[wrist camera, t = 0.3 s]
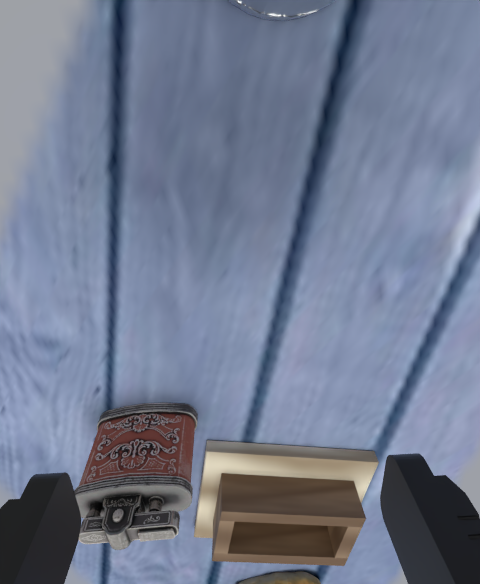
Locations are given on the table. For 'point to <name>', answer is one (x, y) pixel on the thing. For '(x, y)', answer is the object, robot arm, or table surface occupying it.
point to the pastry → (283, 578)
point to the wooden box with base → (282, 502)
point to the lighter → (137, 474)
